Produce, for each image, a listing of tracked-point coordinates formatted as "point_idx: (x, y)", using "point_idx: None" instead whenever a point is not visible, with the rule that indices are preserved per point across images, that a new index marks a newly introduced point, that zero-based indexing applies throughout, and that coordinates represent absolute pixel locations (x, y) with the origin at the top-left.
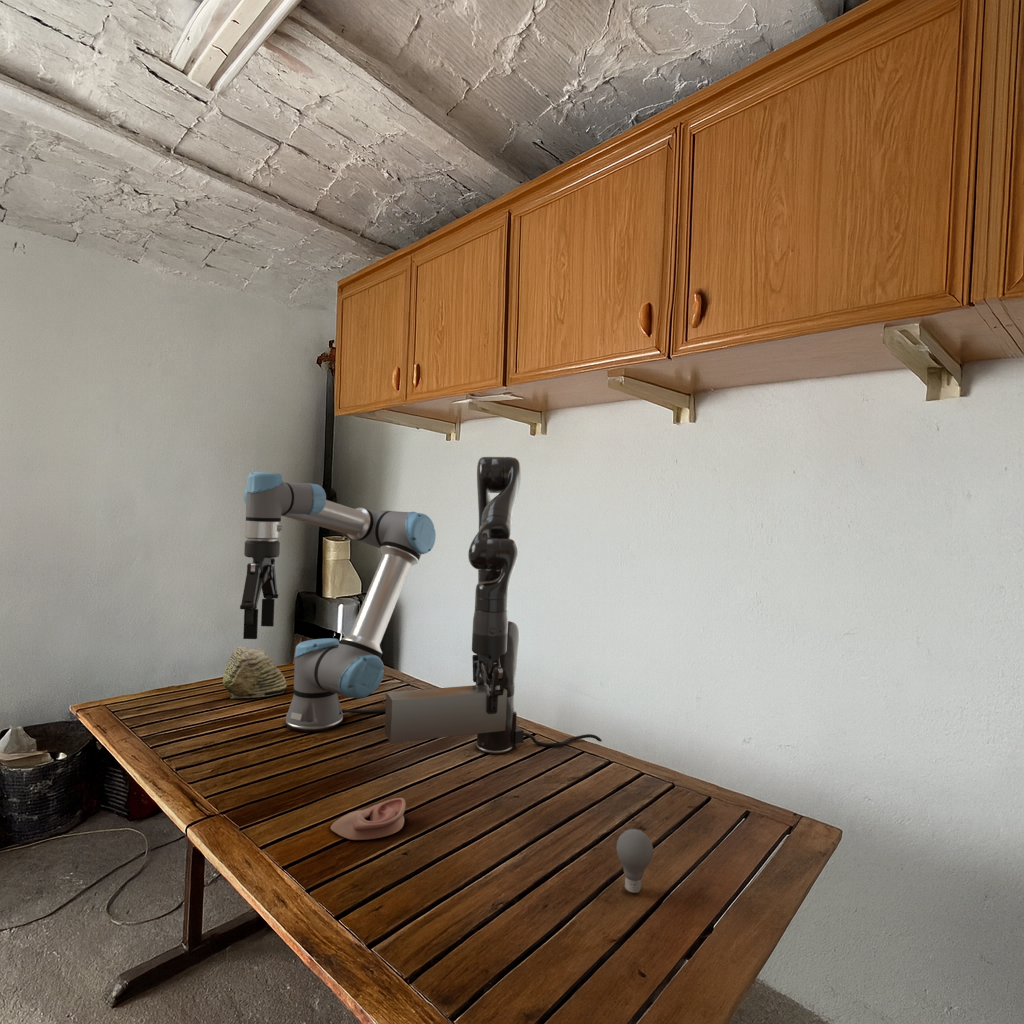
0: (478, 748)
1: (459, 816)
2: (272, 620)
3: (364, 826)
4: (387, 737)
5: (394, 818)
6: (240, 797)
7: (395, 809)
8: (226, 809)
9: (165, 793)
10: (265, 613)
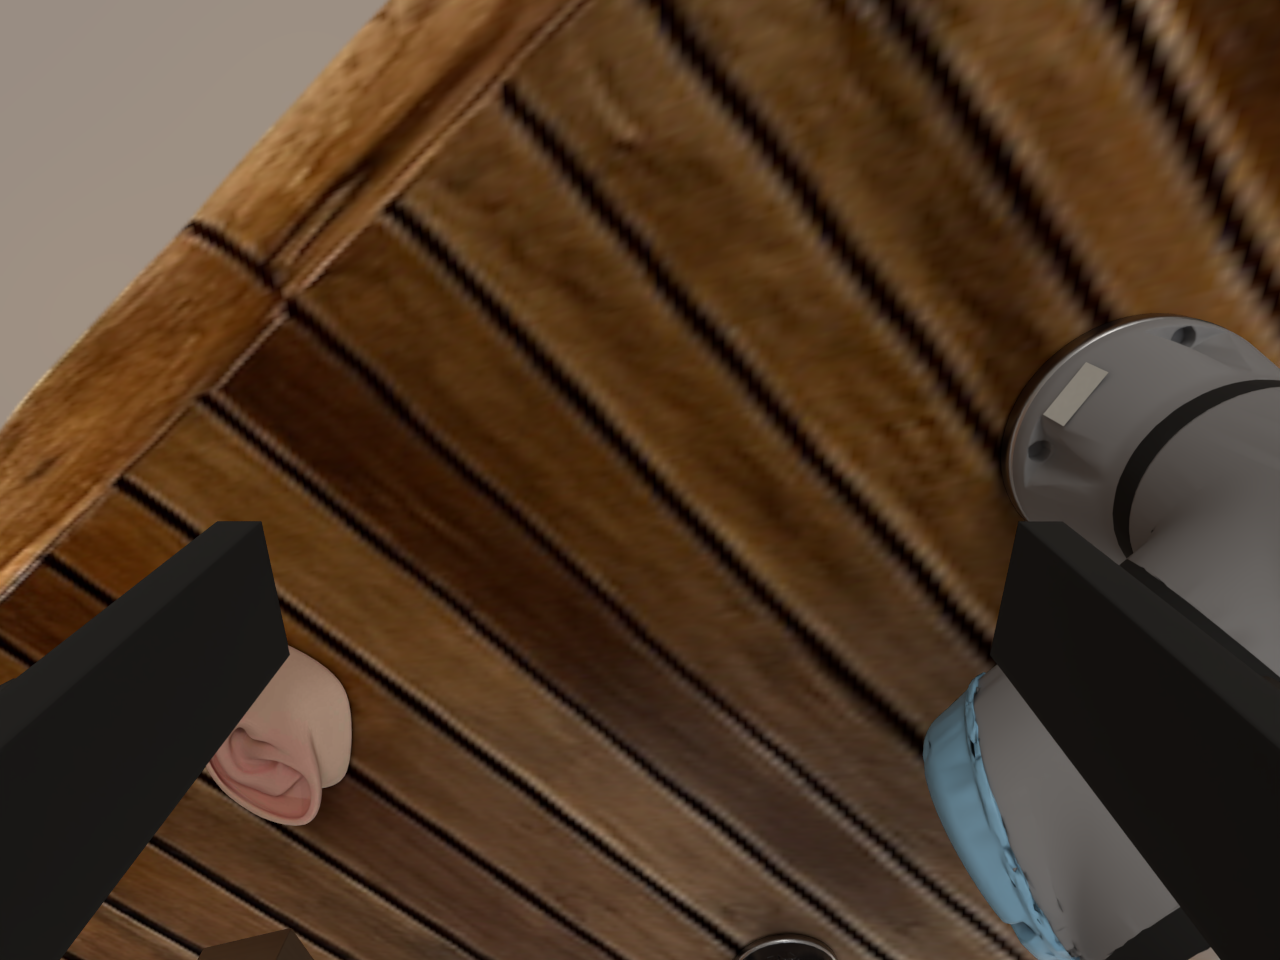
0: (765, 940)
1: (362, 885)
2: (1028, 702)
3: None
4: (242, 942)
5: (231, 797)
6: (404, 332)
7: (295, 791)
8: (315, 312)
9: (408, 23)
10: (1116, 680)
